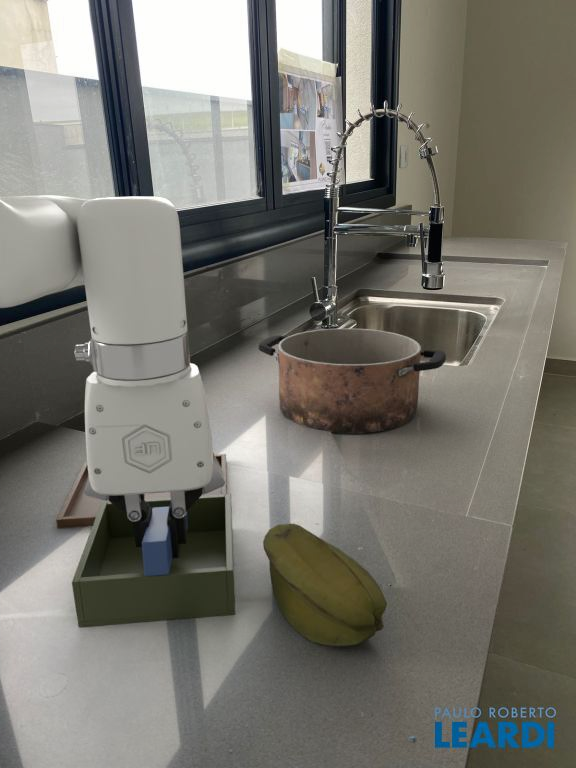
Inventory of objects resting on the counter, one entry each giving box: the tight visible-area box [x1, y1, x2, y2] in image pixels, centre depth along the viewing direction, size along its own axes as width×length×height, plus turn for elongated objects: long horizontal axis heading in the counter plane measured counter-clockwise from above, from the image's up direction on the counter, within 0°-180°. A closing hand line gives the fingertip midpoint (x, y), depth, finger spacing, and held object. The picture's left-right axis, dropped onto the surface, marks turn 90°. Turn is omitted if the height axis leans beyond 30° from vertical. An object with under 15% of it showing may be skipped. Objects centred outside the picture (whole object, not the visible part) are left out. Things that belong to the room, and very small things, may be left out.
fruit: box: [262, 523, 388, 647], centre depth 51 cm, size 11×12×7 cm
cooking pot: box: [257, 327, 447, 435], centre depth 97 cm, size 30×22×11 cm
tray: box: [55, 453, 228, 529], centre depth 72 cm, size 18×14×1 cm
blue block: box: [142, 507, 188, 576], centre depth 55 cm, size 4×11×3 cm, turn 6°
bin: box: [71, 493, 236, 628], centre depth 57 cm, size 13×13×4 cm
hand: (162, 549), depth 55 cm, fingers closed on blue block
